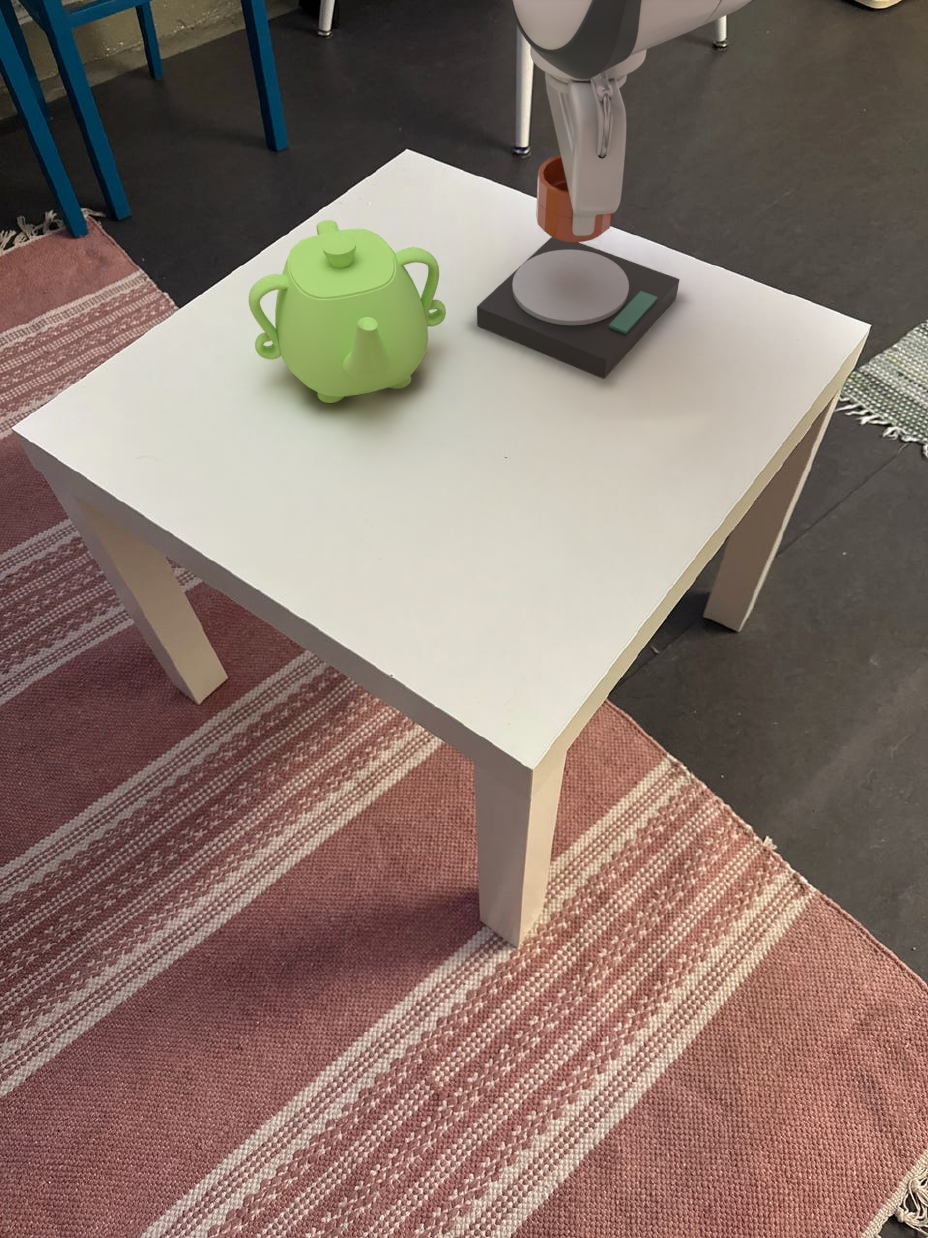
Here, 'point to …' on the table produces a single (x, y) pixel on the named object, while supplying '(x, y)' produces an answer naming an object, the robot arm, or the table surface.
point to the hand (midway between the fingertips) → (575, 203)
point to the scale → (578, 305)
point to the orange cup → (561, 205)
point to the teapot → (348, 312)
